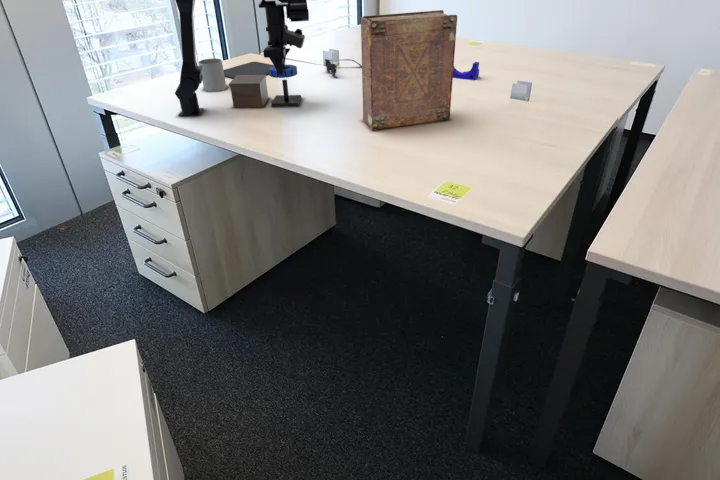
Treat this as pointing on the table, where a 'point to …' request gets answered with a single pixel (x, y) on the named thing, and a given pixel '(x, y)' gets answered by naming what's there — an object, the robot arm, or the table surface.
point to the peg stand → (286, 98)
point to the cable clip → (468, 73)
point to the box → (249, 91)
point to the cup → (213, 75)
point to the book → (407, 68)
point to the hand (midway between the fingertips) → (281, 73)
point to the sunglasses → (334, 67)
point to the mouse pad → (248, 69)
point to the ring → (287, 71)
